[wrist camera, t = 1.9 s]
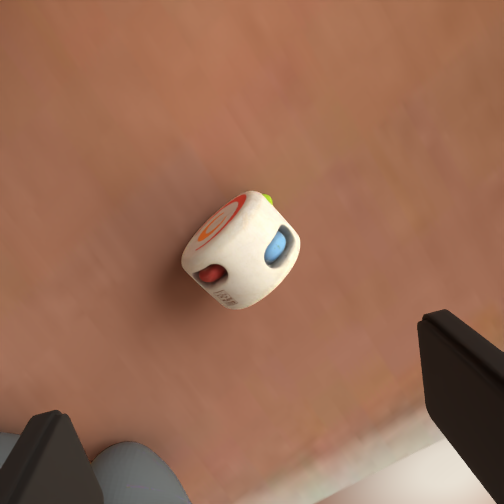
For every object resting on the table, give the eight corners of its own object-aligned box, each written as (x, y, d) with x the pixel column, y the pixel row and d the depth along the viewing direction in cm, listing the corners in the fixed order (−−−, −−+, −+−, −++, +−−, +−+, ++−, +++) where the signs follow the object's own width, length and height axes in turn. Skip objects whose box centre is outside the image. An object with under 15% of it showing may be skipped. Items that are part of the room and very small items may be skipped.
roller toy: (299, 229, 25) (325, 260, 20) (224, 295, 26) (230, 342, 21) (252, 176, 24) (266, 193, 19) (175, 247, 25) (166, 284, 19)
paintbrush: (-101, 476, 28) (-163, 550, 23) (-109, 415, 26) (-177, 481, 22) (193, 482, 31) (191, 549, 26) (200, 428, 29) (200, 488, 25)
